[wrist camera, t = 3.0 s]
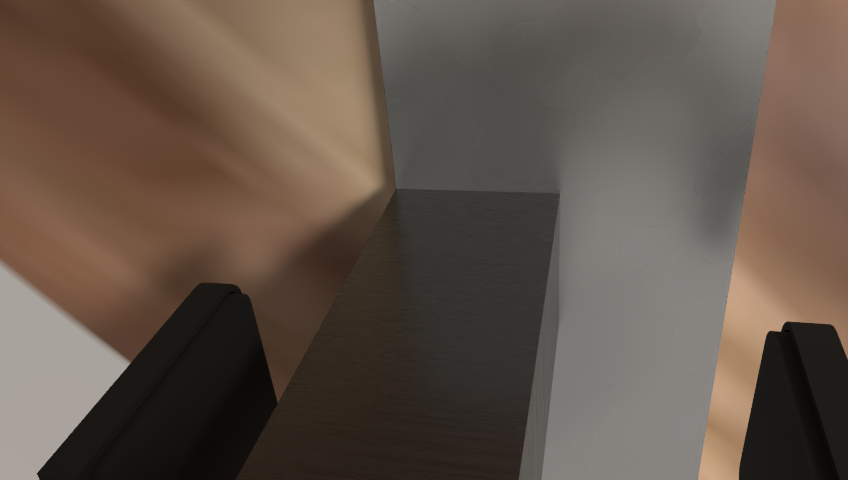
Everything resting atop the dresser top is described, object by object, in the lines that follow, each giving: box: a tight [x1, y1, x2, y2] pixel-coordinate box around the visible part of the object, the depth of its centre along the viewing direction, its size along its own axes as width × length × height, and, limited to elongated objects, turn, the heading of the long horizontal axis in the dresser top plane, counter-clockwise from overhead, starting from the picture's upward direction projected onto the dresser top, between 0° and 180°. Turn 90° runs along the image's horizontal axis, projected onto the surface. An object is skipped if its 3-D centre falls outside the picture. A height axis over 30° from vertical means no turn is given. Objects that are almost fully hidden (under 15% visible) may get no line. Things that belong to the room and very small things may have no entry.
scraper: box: [236, 0, 776, 480], centre depth 10 cm, size 6×14×9 cm, turn 6°
